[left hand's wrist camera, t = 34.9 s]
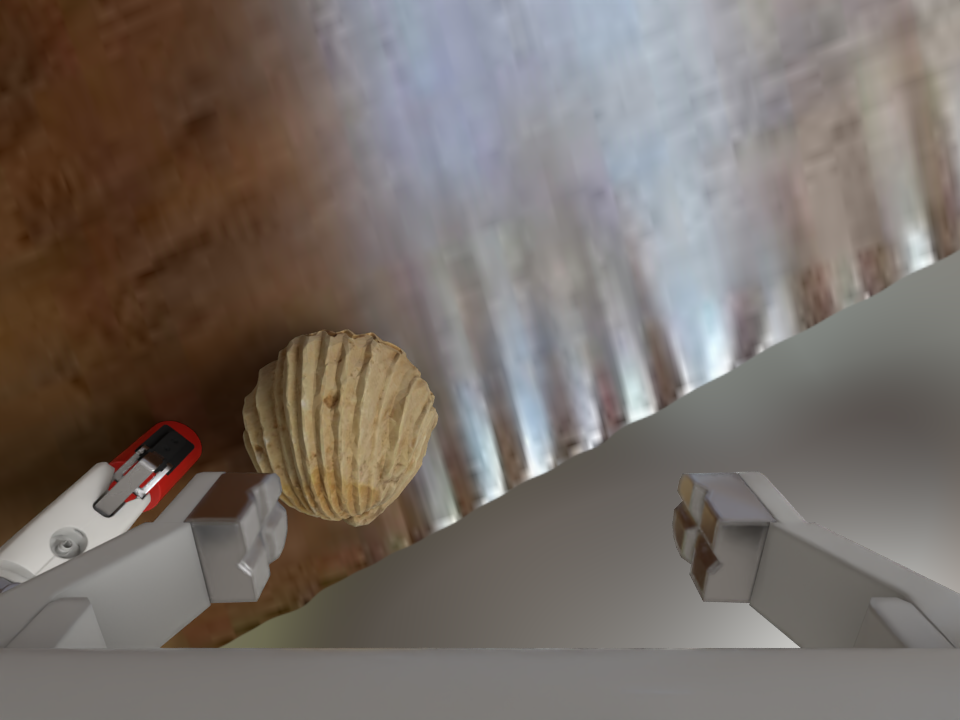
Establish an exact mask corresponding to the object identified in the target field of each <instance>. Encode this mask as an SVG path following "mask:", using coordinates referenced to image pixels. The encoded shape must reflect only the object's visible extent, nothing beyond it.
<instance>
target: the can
mask: <svg viewBox="0 0 960 720" xmlns="http://www.w3.org/2000/svg"><path fill="white" fill-rule="evenodd" d="M163 425H169V426H170V427H171V428H173V429H174V430H175V431H177V432H178V433H179V434H181V435H182V436H183V437H185V438H186V439H187V440H189V441H190V442H191V443H192V444H194V446H195V448H194V449H193V450H192V451H191V452H190V453H189V455H188V456H187V457H186V458H185V459H184V460H183V461H182V462H181V463H180V464H179V465H178V466H177V467H176V468H175V469H174V470H173V471H172V472H171V473H170V474H169V475H166V474H165V475H164V476H163V477H162V478H161V479H160V480H159V481H158V482H157V483H156V484H155V485H154V486H153V487H152V488H151V489H150V490H149V491H148V493H150V496H151V502H150V503H149V504H148V506H147V507H146V508H145V509H144V511H143V512H145V511H148V510H150V509H152V508H154V507H155V506H156V505H157V504H158V503H159V502H160V501H161V500H162V498H163V497H164V496H165V495H166V494H167V493H168V492H169V491H170V490H171V489H172V488H173V487H174V485H175V484H176V483H177V482H178V481H179V480H180V479H181V478H182V477H183V476H184V475H185V474H186V472H187V471H188V470H189V469H190V468H191V467H192V466H193V465H194V464H195V463H196V462H197V460H198V459H199V458H200V456H201V452H202V446H201V442H200V439H199V437H198V436H197V435H196V433H195V432H194V431H193V430H192V429H190V428H189V427H188V426H186V425H184V424H182V423H179V422H175V421H164V422H160V423H157V424H155V425H154V426H153V427H152V428H150V429H149V430H148V431H147V432H146V433H144V434H143V435H142V436H141V437H140V438H138V439H137V440H136V441H135V442H134V443H132V444H131V445H130V446H129V447H128V448H126V449H125V450H124V451H123V452H122V453H120V454H119V455H118V456H117V457H116V458H114V459H113V460H112V461H111V462H110V463H108V464H109V465H111V466H112V467H114V468H115V471H114V472H116V471H117V470H118V469H119V468H120V467H121V466H122V465H123V464H124V463H126V462H127V461H128V460H129V459H130V458H131V457H132V456H133V455H134V454H135V453H136V452H135V450H136V449H137V448H138V447H139V446H140V445H141V444H142V443H143V442H144V441H146V440H147V439H148V438H149V437H150V436H151V435H153V434H154V433H155V432H156V431H157V430H158V429H159V428H161V427H162V426H163ZM138 462H139V461H137V462H136V463H135V464H134V465H133V466H132V467H131V468H130V469H129V470H128V471H127V472H126V473H125V474H124V476H125V475H126V474H127V473H128V472H129V471H130V470H131V469H132V468H133V467H134V466H135V465H136V464H137V463H138ZM157 473H158V472H157ZM157 473H154V472H153V473H152V474H151V475H150V476H149V477H148V478H147V479H146V480H145V481H144V482H143V483H142V484H141V485H140V486H139V487H141V488H143V487H144V486H145V485H146V484H147V483H148V482H149V481H150V480H151V479H152V478H153V477H154V476H155V475H156V474H157ZM116 484H117V482H115V481H114V482H113V483H112V484H110V486H109V489H108V490H109V491H110V490H111V489H112V488H113V487H114V486H115V485H116ZM148 493H147V494H148ZM147 494H146V495H147ZM136 497H137V496H135V495H134V494H131V495H130V496H129V497H128V498H127V499H126V500H125V502H129V501H131V500H134V499H135V498H136Z"/></svg>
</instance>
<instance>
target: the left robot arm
mask: <svg viewBox="0 0 960 720" xmlns="http://www.w3.org/2000/svg"><path fill="white" fill-rule="evenodd" d="M282 491H283V490H282V486H281V481H280V477H279V476H278V475H277V474H276V473H250V472H227V473H226V472H202V473H198V474H196V475H195V476H194V477H193V478H192V480H191V481H190V482H189V483H188V484H187V485H186V486H185V487H184V489H183V490H182V491H181V492H180V493H179V494H178V495H177V496H176V497H175V499H174V500H173V501H172V502H171V503H170V504H169V505H168V506H167V508H166V509H165V510H164V511H163V512H162V513H161V514H160V515H159V516H158V518H157V519H156V520H155V521H154V522H153V523H143V524H141V525H139V526H137V527H135V528H133V529H131V530H129V531H127V532H125V533H123V534H121V535H119V536H117V537H115V538H113V539H110V540H108V541H106V542H104V543H102V544H100V545H98V546H96V547H94V548H92V549H90V550H88V551H86V552H84V553H82V554H80V555H78V556H76V557H74V558H72V559H70V560H68V561H66V562H64V563H62V564H60V565H58V566H56V567H54V568H51V569H49V570H47V571H45V572H43V573H41V574H39V575H37V576H35V577H33V578H31V579H29V580H27V581H25V582H23V583H21V584H19V585H17V586H15V587H13V588H11V589H9V590H7V591H5V592H3V593H1V594H0V720H960V594H959V593H957V592H955V591H953V590H951V589H949V588H947V587H945V586H943V585H941V584H939V583H937V582H935V581H933V580H931V579H928V578H927V577H924V576H922V575H920V574H918V573H916V572H914V571H912V570H910V569H908V568H906V567H904V566H902V565H900V564H898V563H896V562H894V561H892V560H890V559H888V558H886V557H884V556H882V555H880V554H878V553H876V552H874V551H872V550H870V549H868V548H866V547H864V546H862V545H860V544H858V543H856V542H853V541H851V540H849V539H847V538H845V537H843V536H841V535H839V534H837V533H835V532H833V531H831V530H829V529H827V528H825V527H823V526H821V525H819V524H817V523H807V522H806V521H805V520H804V519H803V518H802V516H801V515H800V514H799V513H798V512H797V511H796V510H795V509H794V508H793V506H792V505H791V504H790V503H789V502H788V501H787V500H786V499H785V497H784V496H783V495H782V494H781V493H780V492H779V491H778V490H777V489H776V487H775V486H774V485H773V484H772V483H771V482H770V481H769V480H768V478H767V477H766V476H765V475H764V474H762V473H760V472H733V473H698V474H682V476H681V478H680V480H679V485H678V490H677V491H678V493H679V495H680V497H681V498H682V500H683V501H682V502H681V503H680V504H679V505H678V506H677V507H676V508H675V509H674V516H673V536H674V540H675V544H676V548H677V550H678V552H679V554H680V556H681V557H682V558H683V559H684V560H686V561H687V562H689V563H690V564H691V570H690V576H691V578H692V580H693V582H694V584H695V586H696V588H697V590H698V592H699V594H700V596H701V598H702V600H703V601H704V602H737V603H750V604H749V605H750V606H751V607H753V608H754V609H755V610H756V611H757V612H758V613H760V614H761V615H762V616H763V617H764V618H766V619H767V620H768V621H769V622H770V623H772V624H773V625H774V626H775V627H776V628H778V629H779V630H780V631H781V632H783V633H784V634H785V635H786V636H787V637H788V638H790V639H791V640H792V641H793V642H794V643H796V644H797V645H798V646H799V647H801V648H160V647H161V646H162V645H163V644H164V643H166V642H167V641H168V640H169V639H170V638H172V637H173V636H174V635H175V634H177V633H178V632H179V631H180V630H181V629H183V628H184V627H185V626H186V625H187V624H189V623H190V622H191V621H192V620H193V619H195V618H196V617H197V616H198V615H199V614H201V613H202V612H203V611H204V610H205V609H207V608H208V607H209V606H210V603H222V602H257V600H258V598H259V596H260V594H261V592H262V590H263V588H264V586H265V584H266V582H267V580H268V578H269V576H270V570H269V564H270V563H271V562H273V561H274V560H276V559H277V558H278V557H279V556H280V554H281V552H282V550H283V547H284V544H285V540H286V535H287V515H286V509H285V508H284V507H283V506H282V505H281V504H280V503H279V502H278V501H277V500H278V498H279V497H280V495H281V493H282Z"/></svg>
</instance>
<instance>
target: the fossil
mask: <svg viewBox="0 0 960 720" xmlns="http://www.w3.org/2000/svg"><path fill="white" fill-rule="evenodd" d="M420 375H421V373H420V372H419V371H418V369H417V368H416V367H415V366H414V365H412V364H411V363H410V361H409V360H408V359H407V357H406V353H405V352H404V351H403V350H402V349H400V348H399V347H397V346H396V345H394V344H392V343H389V342H386V341H382V340H381V339H380V338H379V337H378V336H376V335H375V334H374V333H366V334H361V335H356V334H354V333H353V332H352V331H350V330H348V329H347V330H343V331H339V332H333V331H331V330H327V329H324V330H321V331H319V332H315V333H311V334H302V335H300V336H298V337H295V338H294V339H292V340H291V341H290V342H289V344H288V345H287V346H286V347H285V348H283V349H282V350H280V351H279V355H278V360H275V361H273V362H271V363H269V364H267V365H266V366H264V367H263V368H261V369H260V371H259V377H258V383H257V385H256V386H255V388H254V389H253V391H252V392H251V393H250V394H249V395H247V396H246V397H245V399H244V402H245V403H244V407H243V411H242V413H243V419H244V424H245V431H244V433H243V439H244V443H245V448H246V450H247V452H248V454H249V456H250V458H251V460H252V462H253V464H254V467H255V469H256V471H257V472H258V473H276V474H277V475H278V476H279V477H280V481H281V486H282V490H283V491H282V493H281V495H280V497H279V498H280V499H281V500H282V501H283V502H285V503H286V504H287V505H289V506H290V507H293V508H295V509H297V510H298V511H300V512H303V513H305V514H308V515H311V516H315V517H321V518H322V519H326V520H336V521H339V520H341V519H342V520H344V521H345V522H346V523H348V524H350V525H352V526H355V527H356V526H362V525H366V524H369V523H370V522H371V521H373V520H374V519H375V518H376V517H377V516H378V515H380V514H381V513H382V512H383V511H384V510H385V509H386V508H387V507H388V506H389V505H390V504H391V503H392V502H393V501H394V500H395V499H396V498H397V497H398V496H399V495H400V493H401V492H402V491H403V489H404V488H405V487H406V486H407V485H408V483H409V482H410V481H411V480H412V478H413V477H414V476H415V474H416V473H417V471H418V470H419V468H420V467H421V465H422V459H423V457H424V456H425V454H426V449H427V443H428V440H429V438H430V436H431V432H432V430H433V429H434V428H435V426H436V424H437V420H438V415H437V412H436V409H435V408H434V407H432V406H433V402H434V398H435V397H434V395H433V393H432V392H431V391H430V390H429V387H428V384H427V382H426V381H424V380H423V379H422V378H421V377H420Z"/></svg>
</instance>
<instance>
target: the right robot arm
mask: <svg viewBox="0 0 960 720" xmlns="http://www.w3.org/2000/svg"><path fill="white" fill-rule="evenodd" d="M194 448H195V446H194V444H192V443H191V442H190V441H189V440H187V439H186V438H185V437H183V436H182V435H181V434H179V433H178V432H177V431H175V430H174V429H173V428H171V427H170V426H169V425H163V426H162V427H161V428H159V429H158V430H157V431H156V432H155V433H154V434H153V435H151V436H150V437H149V438H148V439H147V440H146V441H144V442H143V443H142V444H141V445H140V446H139V447H138V448H137V449H136V450H135V452H136V453H135V454H134V455H133V456H132V457H131V458H130V459H129V460H128V461H127V462H126V463H124V464H123V465H122V466H121V467H120V468H119V469H118V470H117V471H116V472H114V471H115V468H114V467H112V466H111V465H109V464H108V463H107V462H100V463H97V464H96V465H94V466H93V467H92V468H91V469H90V470H89V471H88V472H87V473H85V474H84V475H83V476H82V477H81V478H80V479H79V480H77V481H76V482H75V483H74V484H73V485H72V486H71V487H69V488H68V489H67V490H66V491H65V492H64V493H62V494H61V495H60V496H59V497H58V498H57V499H55V500H54V501H53V502H52V503H51V504H50V505H48V506H47V507H46V508H45V509H44V510H43V511H41V512H40V513H39V514H38V515H37V516H36V517H34V518H33V519H32V520H31V521H30V522H29V523H27V524H26V525H25V526H24V527H23V528H22V529H21V530H19V531H18V532H17V533H16V534H15V535H14V536H13V537H11V538H10V539H9V540H8V541H7V542H6V543H5V544H4V545H3V546H1V547H0V594H1V593H3V592H5V591H7V590H9V589H11V588H13V587H15V586H17V585H19V584H21V583H23V582H25V581H27V580H29V579H31V578H33V577H35V576H37V575H39V574H41V573H43V572H45V571H47V570H49V569H51V568H54V567H56V566H58V565H60V564H62V563H64V562H66V561H68V560H70V559H72V558H74V557H76V556H78V555H80V554H82V553H84V552H86V551H88V550H90V549H92V548H94V547H96V546H98V545H100V544H102V543H104V542H106V541H108V540H110V539H113V538H115V537H117V536H119V535H121V534H123V533H125V532H127V531H128V529H129V528H130V527H131V526H132V524H133V523H134V522H135V521H136V519H137V518H138V517H139V516H140V514H141V513H142V512H143V511H144V509H145V508H146V507H147V506H148V504H149V503H150V502H151V496H150V493H148V491H149V490H150V489H151V488H152V487H153V486H154V485H155V484H156V483H157V482H158V481H159V480H160V479H161V478H162V477H163V476H164V475H165V474H166V475H169V474H170V473H171V472H172V471H173V470H174V469H175V468H176V467H177V466H178V465H179V464H180V463H181V462H182V461H183V460H184V459H185V458H186V457H187V456H188V455H189V453H190V452H191V451H192V450H193V449H194ZM137 461H139V462H138V463H137V464H136V465H135V466H134V467H133V468H132V469H131V470H130V471H129V472H128V473H127V474H126V475H125V476H124V474H125V473H126V472H127V471H128V470H129V469H130V468H131V467H132V466H133V465H134V464H135V463H136V462H137ZM153 472H154V473H157V472H158V473H157V474H156V475H155V476H154V477H153V478H152V479H151V480H150V481H149V482H148V483H147V484H146V485H145V486H144V487H143V488H141V487H139V486H140V485H141V484H142V483H143V482H144V481H145V480H146V479H147V478H148V477H149V476H150V475H151V474H152V473H153ZM114 481H115V482H117V484H116V485H115V486H114V487H113V488H112V489H111V490H110V491H109V490H108V489H109V486H110V484H112V483H113V482H114ZM147 493H148V494H147ZM131 494H134V495H135V496H137V497H136V498H135V499H134V500H131V501H129V502H125V500H126V499H127V498H128V497H129V496H130V495H131ZM146 494H147V495H146Z"/></svg>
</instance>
